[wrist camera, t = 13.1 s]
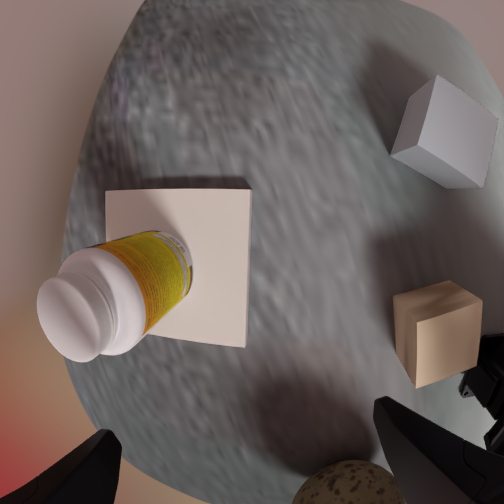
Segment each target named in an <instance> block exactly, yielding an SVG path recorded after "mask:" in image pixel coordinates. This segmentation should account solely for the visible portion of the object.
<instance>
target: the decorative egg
mask: <svg viewBox="0 0 504 504" xmlns="http://www.w3.org/2000/svg"><path fill="white" fill-rule="evenodd" d="M292 504H406V501H405V499H404V497H403V494H402V492H401V490H400V488H399V486H398V483H397V481H396V479H395V477H394V476H393V475H392V474H391V473H390V472H388V471H387V470H386V469H384V468H382V467H381V466H379V465H377V464H374V463H371V462H367V461H362V460H346V461H341V462H337V463H333V464H331V465H328V466H326V467H324V468H322V469H321V470H319V471H318V472H316V473H315V474H313V475H312V476H311V477H310V478H309V479H308V480H307V481H306V482H305V483H304V484H303V485H302V486H301V488H300V489H299V491H298V492H297V494H296V496H295V498H294V500H293V502H292Z"/></svg>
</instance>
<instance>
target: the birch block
mask: <svg viewBox="0 0 504 504" xmlns="http://www.w3.org/2000/svg"><path fill="white" fill-rule="evenodd" d="M482 304H483V301H482V300H481V299H479V298H478V297H476V296H475V295H473V294H471V293H470V292H468V291H467V290H465V289H463V288H462V287H460V286H459V285H457V284H455V283H454V282H452V281H450V280H447V281H444V282H441V283H437V284H434V285H430V286H427V287H423V288H419V289H416V290H412V291H408V292H405V293H401V294H397V295H393V307H394V321H395V341H396V354H397V356H398V358H399V360H400V361H401V363H402V365H403V367H404V368H405V370H406V372H407V374H408V376H409V377H410V379H411V381H412V383H413V385H414V387H415V388H419V387H422V386H425V385H428V384H431V383H434V382H437V381H439V380H442V379H445V378H448V377H450V376H453V375H455V374H458V373H460V372H463V371H465V370H468V369H470V368H473V367H475V366H477V359H478V352H479V343H480V334H481V322H482Z"/></svg>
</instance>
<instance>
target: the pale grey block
mask: <svg viewBox="0 0 504 504" xmlns="http://www.w3.org/2000/svg"><path fill="white" fill-rule="evenodd" d="M497 124H498V118H497V117H496V116H494V115H493V114H492V113H491V112H490V111H488V110H487V109H486V108H485V107H483V106H482V105H481V104H479V103H478V102H477V101H475V100H474V99H473V98H471V97H470V96H469V95H467V94H466V93H464V92H463V91H462V90H460V89H459V88H457V87H456V86H454V85H453V84H451V83H450V82H448V81H447V80H445V79H444V78H442V77H441V76H439V75H437V74H436V75H435V76H434V77H433V78H431V79H430V80H429V81H428V82H427V83H425V84H424V85H423V86H422V87H421V88H419V89H418V90H417V91H416V92H415V93H414V94H412V95H411V96H410V97H409V99H408V102H407V105H406V109H405V112H404V115H403V118H402V121H401V124H400V128H399V131H398V134H397V137H396V139H395V142H394V145H393V148H392V151H391V154H390V156H391V157H392V158H394V159H396V160H398V161H400V162H402V163H404V164H405V165H407V166H409V167H411V168H413V169H414V170H416V171H418V172H419V173H421V174H423V175H425V176H426V177H428V178H430V179H431V180H433V181H435V182H436V183H438V184H439V185H441V186H443V187H444V188H446V189H452V188H483V186H484V183H485V179H486V175H487V171H488V167H489V163H490V159H491V155H492V150H493V145H494V141H495V135H496V130H497Z"/></svg>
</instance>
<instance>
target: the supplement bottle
mask: <svg viewBox="0 0 504 504" xmlns="http://www.w3.org/2000/svg"><path fill="white" fill-rule="evenodd" d="M193 278H194V268H193V263H192V259H191V257H190V254H189V252H188V251H187V249H186V247H185V246H184V245H183V244H182V243H181V242H180V241H179V240H178V239H177V238H176V237H174V236H173V235H171V234H169V233H166V232H163V231H158V230H151V231H145V232H141V233H137V234H134V235H130V236H126V237H122V238H119V239H116V240H112V241H108V242H105V243H102V244H97V245H94V246H91V247H86V248H84V249H81V250H78V251H76V252H74V253H72V254H71V255H70V256H69V257H68V258H67V259H66V260H65V261H64V262H63V264H62V266H61V267H60V270H59V272H58V275H57V276H55V277H53V278H50V279H48V280H46V281H45V282H44V283H43V284H42V286H41V287H40V289H39V292H38V296H37V312H38V317H39V321H40V323H41V326H42V328H43V331H44V333H45V334H46V336H47V338H48V339H49V341H50V342H51V343H52V345H53V346H54V347H55V348H56V349H57V350H58V351H59V352H60V353H61V354H62V355H64V356H65V357H67V358H69V359H71V360H73V361H76V362H88V361H90V360H92V359H93V358H95V357H96V356H97V355H98V354H104V355H118V354H122V353H124V352H127V351H128V350H130V349H131V348H133V347H134V346H135V345H136V344H137V343H138V342H139V341H140V340H141V339H142V338H143V337H144V336H145V335H146V334H147V333H148V332H150V331H151V330H152V329H153V328H154V327H155V326H156V325H157V324H158V323H159V322H160V321H161V320H162V319H163V318H164V317H166V316H167V315H168V314H169V313H170V312H171V311H172V310H173V309H174V308H175V307H176V306H177V305H178V304H179V303H180V302H181V301H182V300H183V299H184V298H185V297H186V296H187V294H188V293H189V291H190V289H191V286H192V283H193Z"/></svg>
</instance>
